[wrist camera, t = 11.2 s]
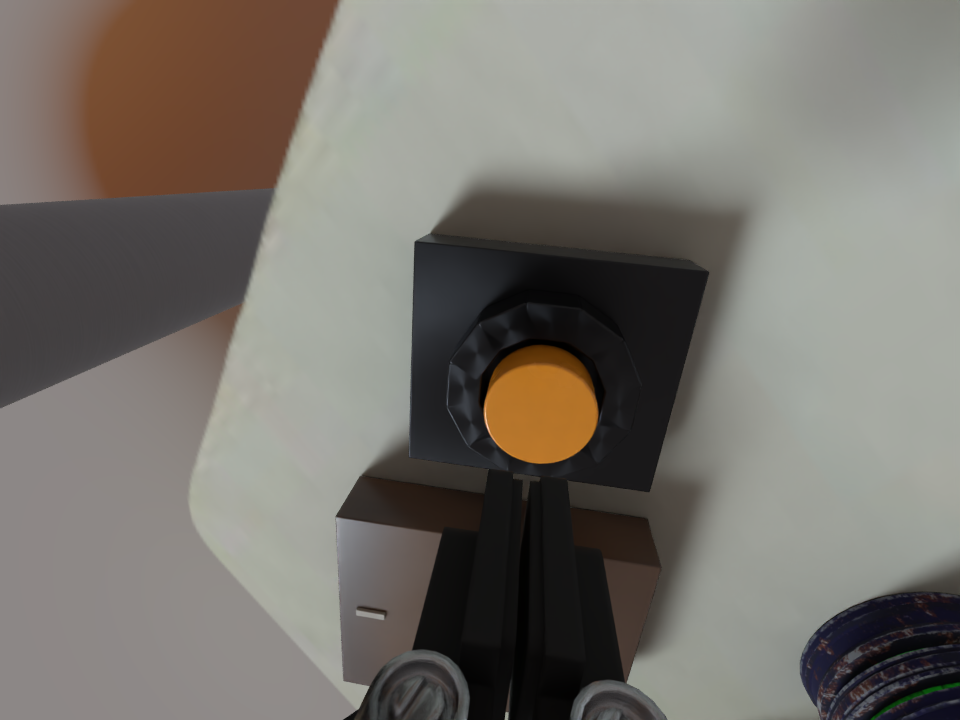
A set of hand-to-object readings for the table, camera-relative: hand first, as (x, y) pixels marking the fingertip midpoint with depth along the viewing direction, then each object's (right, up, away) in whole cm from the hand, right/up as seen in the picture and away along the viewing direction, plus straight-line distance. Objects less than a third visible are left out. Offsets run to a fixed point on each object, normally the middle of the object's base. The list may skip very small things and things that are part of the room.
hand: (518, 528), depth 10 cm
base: (0, -8, +15) cm, 17 cm away
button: (+1, +3, +6) cm, 7 cm away
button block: (+2, +4, +10) cm, 10 cm away
